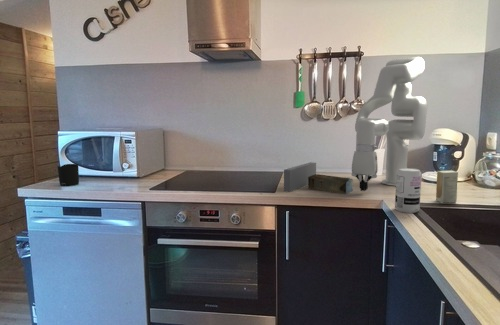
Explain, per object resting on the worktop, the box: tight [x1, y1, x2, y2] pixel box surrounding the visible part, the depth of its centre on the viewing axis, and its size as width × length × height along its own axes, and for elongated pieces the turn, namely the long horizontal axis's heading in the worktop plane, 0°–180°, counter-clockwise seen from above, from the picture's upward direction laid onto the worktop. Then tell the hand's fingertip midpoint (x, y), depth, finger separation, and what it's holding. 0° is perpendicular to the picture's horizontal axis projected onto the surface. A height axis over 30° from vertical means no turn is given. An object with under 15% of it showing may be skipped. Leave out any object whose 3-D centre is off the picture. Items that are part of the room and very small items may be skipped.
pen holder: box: [56, 163, 80, 187], centre depth 182 cm, size 9×9×10 cm
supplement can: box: [394, 167, 423, 214], centre depth 130 cm, size 8×8×15 cm
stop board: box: [283, 161, 317, 193], centre depth 174 cm, size 3×28×10 cm, turn 145°
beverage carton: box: [307, 173, 354, 195], centre depth 166 cm, size 8×19×7 cm, turn 53°
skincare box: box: [435, 170, 459, 204], centre depth 143 cm, size 6×4×12 cm
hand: (363, 190), depth 157 cm, fingers closed
